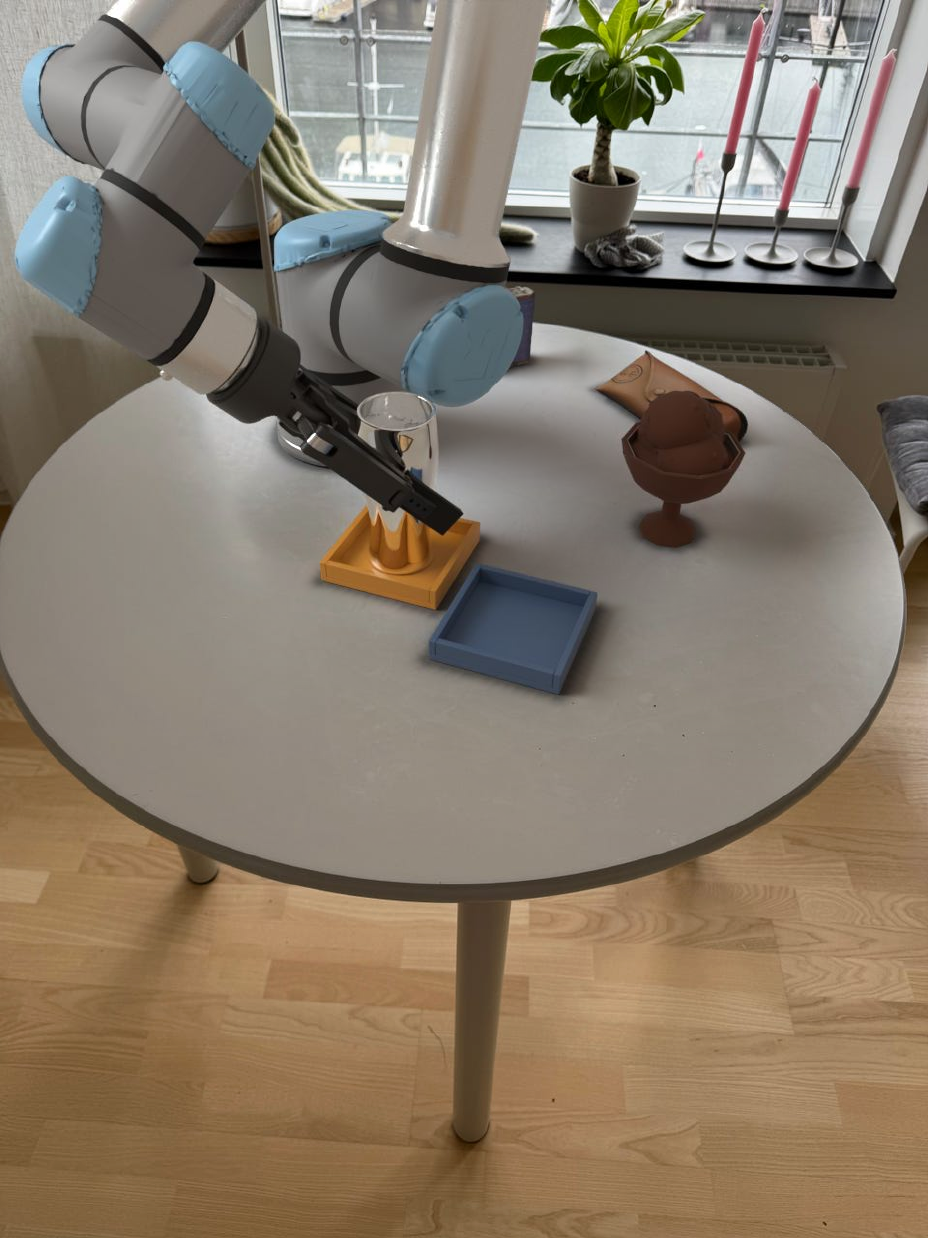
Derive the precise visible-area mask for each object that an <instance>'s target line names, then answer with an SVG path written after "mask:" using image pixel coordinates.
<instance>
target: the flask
mask: <svg viewBox="0 0 928 1238" xmlns="http://www.w3.org/2000/svg"><path fill="white" fill-rule="evenodd" d="M505 288H506V289H509V291H511V293H512V294H513V295H514V296H515V297H516V299H517V300H518V302H519V304H520V307H521V308H520V310H519V311H521V312H522V314H523V332H522V338H521V342H520V345H519V348H518V350H517V353H516V355H515V357H514V359H513V361H512V363H511V365H510V367H509V368H512V367H514V366H520V365H522V364H523V365H524V364H528V363H529V362H530V361H531V351H532V349H531V348H532V338H533V337H532V335H533V325H534V324H533V322H534V317H535V315H534V312H535V301H536V291H534V290H533V289H531V288H529V287H526V286H524V287H521V286H520V285H519V286H518V285H517V286H515V287H513V288H508V287H507V286H505Z"/></svg>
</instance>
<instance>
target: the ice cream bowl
mask: <svg viewBox="0 0 928 1238" xmlns="http://www.w3.org/2000/svg"><path fill="white" fill-rule="evenodd" d="M621 447H622V454H623V457H624V460H625V463H626V465H627V468H628V470H629V472H630V474H631V476H632V479H633V481H634V483H635V484H637V486H638V487H640V489H641V490H643V491H644V492H647V493H648V494H650V495H652V496H653V497H655V498H657V499H659V500H661V501H663V502H662V507H661V509H660V510H656V511H653V512H649V513H646V515H645V516H644V517H643V519H641V522H640V523H639V525H638V528H639V531H640V533H641V536H642V538H644V539H646V540H648V541H649V542H651V543H653V544H655V545H656V546H663V547H669V548H670V547H671V548H677V547H681V546H686V545H689V544H691V543H692V541H693V540H694V538H695V537H696V535H697V530H696V527H695V526H694V525H695V524H694V523H693V521H692V519H691V518H689V517H687V516H686V515H683V513H682V514H681V508H682V505H686V504H688V505H689V504H692V503H696V502H699V501H702V500H706V499H710V498H711V497H713V496H716V495H717V494H719V493H721V492H722V491H723V490H724V489H725V487H726V486H728V484H729V483H730V481H731V479H732V478H733V476H734V475H735V473H736V472H737V471H738V469H739V467H740V465H741V464H742V462H743V460H744V457H745V455H746V451H745V449H744V448H743V447H742V445H741V444H740V442H738V440H737V439H736V437H735V436H734V434H733V433H731V432H729V431H727V430H725V426H724V424H723V418H722V414H721V413H720V412H719V411H718V410H717V409H716V407H715V406H712V405H711V404H710V403H709V402H708V401H707V400H705V399H702V398H700V396H699V395H698V394H697V393H695V392H692V391H671V392H668V393H666V394H663V395H660V396H658V397H656V398H655V399H654V400H653V401H651V402H650V404H649V407H648V409H647V410H646V411H645V412H644V414H643V416H642V418H641V419H640V420H639V421H637V422H635V423H634V424H633V425H632V427H630V429H629V430H627V432H626V433H625V434H624V435H623V437H622V438H621Z"/></svg>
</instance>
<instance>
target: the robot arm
mask: <svg viewBox="0 0 928 1238" xmlns="http://www.w3.org/2000/svg"><path fill="white" fill-rule="evenodd" d="M267 1H268V0H113V2H112V3H111V4H110V5H109V6H108V7H107V9H106V10H105V11H104V12H103V14H101V15H100V17H99V18H98V19H97V20H96V21H95V23H94V24H92V26H91V27H90V28H89V29H88V30H87V32H85V34H84V35H83V36H82V37H81V38H80V39H79V40H78V41H77V42H76V43H72V44H71V43H64V44H55V45H50V46H48V47H46V48H45V47H44V48H43V49H42V50H40V51H38V52H37V53H36V54H35V55H33V57H31V59H30V60H29V61H28V63H27V65H26V67H25V70H24V73H23V76H22V79H21V87H20V89H21V92H20V93H21V94H20V95H21V102H22V107H23V110H24V113H25V115H26V117H27V120H28V122H29V123H30V125H31V127H32V129H34V131H35V132H36V133H37V136H38V137H40V138H41V139H42V140H43V141H44V142H46V143H47V144H49V145H50V146H52V147H53V148H54V149H55V150H57V151H59V152H61V154H63V155H64V156H67V157H69V158H70V159H71V160H73V161H74V162H76V163H79V164H82V165H88V166H91V167H94V168H96V169H99V170H100V171H102V174H101V176H100V177H98V179H97V180H96V181H95V183H94V184H91V183H90V182H84V181H83V180H81V179H80V178H79V177H77V176H73V175H66V176H63V177H62V176H61V177H60V178H59V179H57V180H56V181H55V182H54V183H53V184H52V185H51V186H50V187H49V188H48V189H47V190H46V191H45V193H44V195H43V197H42V198H41V200H40V202H38V203H37V204H36V205H35V206H34V209H33V210H32V211H31V213H30V215H29V216H28V219H27V220H26V222H25V223H24V226H23V227H22V230H21V232H20V233H19V237H18V238H17V241H16V245H15V248H14V265H15V267H16V270H17V271H18V273H19V275H20V277H21V278H22V279H23V280H24V281H25V282H26V283H28V284H29V285H31V286H33V288H35V289H36V290H38V291H40V292H41V293H42V294H44V295H45V296H47V297H48V298H49V299H51V300H52V301H53V302H55V303H56V304H57V305H59V306H61V307H62V308H63V309H65V310H66V312H69V313H70V314H72V316H75V318H78V319H80V320H81V321H83V322H84V323H86V324H87V325H89V326H91V327H92V328H93V329H95V330H97V331H99V332H100V333H102V334H104V336H106V337H108V338H110V339H111V340H113V341H114V342H116V343H118V344H119V345H121V346H123V347H124V348H126V349H127V350H129V351H130V352H132V353H134V354H135V355H137V356H138V357H140V358H141V359H143V360H144V361H146V362H148V363H150V364H151V365H152V366H155V367H156V368H158V369H159V370H160V371H159V376H160V377H161V378H162V380H163V381H166V382H170V381H171V380H173V378H174V379H175V380H177V381H178V382H180V383H181V384H182V385H184V386H185V387H187V388H189V389H190V390H191V391H193V392H195V393H196V394H198V395H205V396H206V399H207V401H208V402H209V403H210V404H212V405H214V406H215V407H217V408H218V409H220V410H221V411H223V412H225V413H226V414H228V415H229V416H231V417H233V419H235V420H236V421H238V422H240V423H242V424H244V425H245V424H247V425H250V424H256V423H258V422H260V421H261V422H262V420H264V419H266V418H269V417H270V418H271V417H276V421H275V423H276V424H275V425H276V432H277V439H278V442H279V444H280V446H281V447H282V449H283V450H284V451H285V452H286V453H287V454H288V455H290V456H292V457H293V458H295V459H297V460H300V461H301V462H304V463H307V464H312V465H314V466H319V467H325V468H328V469H330V470H331V471H332V472H334V473H335V474H337V475H338V476H339V477H341V478H342V479H344V480H345V481H346V482H348V483H349V484H351V485H352V486H354V487H355V488H356V489H358V490H359V491H361V492H362V493H363V492H364V493H365V494H366V495H368V496H369V497H371V498H372V499H374V500H375V501H376V502H378V503H379V504H381V505H382V509H383V510H384V511H391V512H392V513H394V512H395V511H396V510H397V509H398V508H399V507H400V508H401V509H403V510H404V511H406V512H407V513H409V514H410V515H412V516H413V517H415V518H416V519H418V520H419V521H421V522H422V523H424V524H425V525H427V526H428V527H430V528H431V529H433V530H434V531H436V532H437V533H439V534H440V535H442V536H443V535H444V534H445V533H446V532H447V531H448V530H449V529H450V528H451V527H452V526H453V525H454V524H455V522H456V521H457V520H458V519H459V518H462V517H463V515H464V512H463V511H462V509H461V508H460V507H458V506H457V505H455V504H454V503H453V502H451V501H450V500H448V499H447V498H446V497H444V496H442V495H441V494H440V493H438V492H437V491H436V490H433V489H431V488H430V487H428V486H427V485H425V484H424V483H423V482H421V481H420V480H418V479H417V478H415V477H414V476H412V475H411V474H410V473H409V474H408V475H405V474H404V473H402V472H401V471H400V470H399V469H398V468H396V467H395V466H394V465H393V464H392V463H390V462H389V461H388V460H387V459H386V458H384V457H383V456H382V455H381V454H380V453H378V452H377V451H376V450H375V449H374V448H373V447H371V446H370V445H369V444H368V443H367V442H365V441H364V440H363V439H362V438H361V437H359V436H358V435H357V408H358V406H359V404H360V403H361V402H362V401H363V400H365V399H366V398H368V397H370V396H373V395H376V394H379V393H384V392H393V391H402V392H410V393H415V394H419V395H421V396H424V397H426V398H427V399H429V400H430V401H431V402H432V403H433V404H434V405H437V406H439V407H440V406H441V407H444V408H459V407H465V406H466V405H470V404H471V403H472V404H473V402H476V401H477V400H479V399H481V398H482V397H484V396H485V395H486V394H488V393H489V392H490V390H491V389H492V388H493V387H494V386H495V385H496V384H498V383H499V382H500V381H501V379H502V378H503V377H504V376H505V375H506V373H507V372H508V370H509V369H510V368H511V367H510V365H511V363H512V361H513V359H514V357H515V355H516V353H517V350H518V348H519V345H520V342H521V338H522V332H523V314H522V312H521V311H519V310H520V308H521V307H520V304H519V302H518V300H517V299H516V297H515V296H514V295H513V294H512V293H511V291H509V289H510V288H508V289H506V288H505V287H507V286H506V285H507V281H508V276H509V270H510V267H511V257H510V255H509V254H508V251H507V250H506V248H505V246H504V245H503V244H502V242H501V238H500V231H501V226H502V222H503V218H504V212H505V208H506V203H507V198H508V194H509V189H510V184H511V179H512V174H513V169H514V165H515V160H516V154H517V152H518V151H517V150H518V146H519V141H520V135H521V131H522V126H523V122H524V118H525V117H524V116H525V112H526V106H527V103H528V97H529V93H530V88H531V83H532V79H533V74H534V69H535V64H536V60H537V55H538V50H539V45H540V40H541V36H542V31H543V26H544V21H545V16H546V11H547V7H548V2H549V0H437V2H436V8H435V14H434V19H433V27H432V32H431V33H432V34H431V40H430V45H429V51H428V58H427V64H426V70H425V77H424V82H423V88H422V94H421V100H420V101H421V102H420V107H419V114H418V120H417V125H416V132H415V137H414V144H413V151H412V157H411V162H410V169H409V175H408V182H407V189H406V194H405V201H404V207H403V212H402V215H401V216H400V218H399V219H397V220H396V221H394V223H393V221H392V219H391V218H390V217H389V215H387V214H385V213H384V212H383V213H382V212H379V211H376V210H375V211H374V210H368V209H367V210H366V209H365V210H364V209H345V210H333V211H325V212H320V213H314V214H310V215H306V216H303V217H299V218H296V219H294V220H291V221H289V222H288V223H286V224H285V225H282V227H281V228H280V229H279V230H278V232H277V233H276V235H275V236H274V240H273V241H274V242H273V251H274V252H273V256H274V257H273V258H274V259H273V260H274V264H273V272H275V275H276V284H277V294H278V301H279V311H280V319H281V327H282V329H281V328H279V327H278V326H277V325H276V324H274V323H273V322H271V321H270V320H269V319H267V317H264V316H258V315H257V312H256V309H255V308H254V307H253V306H251V305H250V304H248V303H247V302H246V301H245V300H243V299H242V298H241V297H239V296H238V295H236V294H235V293H234V292H232V291H231V290H229V289H228V288H227V287H225V285H223V284H221V283H220V282H219V281H217V280H216V279H215V278H213V277H211V276H209V275H208V274H207V273H206V272H204V271H203V270H201V269H200V268H199V267H198V266H197V265H196V264H195V263H194V262H195V261H194V260H195V259H196V257H197V256H198V254H199V253H200V251H201V250H202V248H203V246H204V244H205V243H206V241H207V238H208V237H209V235H210V234H211V232H212V231H213V229H214V227H215V226H216V225H217V223H218V221H219V220H220V218H221V217H222V215H223V214H224V213H225V211H226V209H227V208H228V206H229V204H230V203H231V201H232V200H233V198H234V197H235V195H236V194H237V193H238V191H239V189H240V188H241V186H242V185H243V183H244V181H246V179H247V177H248V175H249V174H250V173H251V171H252V170H254V169H255V167H256V166H257V158H258V157H259V155H260V153H261V151H262V150H263V147H264V146H265V143H266V142H267V140H268V138H269V136H270V134H271V132H272V131H273V129H274V127H275V124H276V113H275V108H274V106H273V103H272V101H271V100H270V98H269V96H268V95H267V93H266V92H265V91H264V89H263V88H262V86H260V84H258V82H257V81H256V80H255V79H254V78H253V77H252V76H251V75H250V74H249V73H248V72H247V71H246V70H245V69H243V67H241V66H240V65H239V64H238V63H236V62H235V61H234V60H233V59H231V58H229V56H227V55H226V54H224V52H225V51H226V50H227V48H229V46H230V45H231V44H232V43H233V41H234V40H235V39H236V38H237V37H238V35H239V34H240V33H241V32H242V31H243V30H244V28H246V26H247V25H248V24H249V23H250V21H251V20H252V19H253V18H254V17H255V16H256V14H257V13H258V12H259V10H261V8H262V7H263V6H264V5H265V4H266V2H267ZM364 493H363V494H364Z"/></svg>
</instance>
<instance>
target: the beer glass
mask: <svg viewBox="0 0 928 1238" xmlns="http://www.w3.org/2000/svg"><path fill="white" fill-rule="evenodd" d="M437 422H438V421H437V408H436V404H435V403H432V402H431V401H430V400H429V399H427V398H426V397H424V396H421V395H419V394H415V393H410V392H402V391H393V392H384V393H379V394H376V395H373V396H370V397H368V398H366V399H365V400H363V401H362V402H361V403H360V404H359V406H358V408H357V435H358V436H359V437H361V438H362V439H363V440H364V441H365V442H367V443H368V444H369V445H370V446H371V447H373V448H374V449H375V450H376V451H377V452H378V453H380V454H381V455H382V456H383V457H384V458H386V459H387V460H388V461H389V462H390V463H392V464H393V465H394V466H395V467H396V468H398V469H399V470H400V471H401V472H402V473H404V474H405V475H408V474H409V473H410V474H411V475H412V476H414V477H415V478H417V479H418V480H420V481H421V482H423V483H424V484H425V485H427V486H428V487H430V488H431V489H433V490H434V491H436V486H437V485H436V484H437V478H438V473H439V472H438V470H439V456H440V455H439V433H438V423H437ZM362 494H363V496H364V500H365V504H366V505H367V508H368V512H369V516H370V523H371V534H370V541H369V547H368V558H369V561H370V562H371V564H372V565H373V566H374V567H375V568H377V569H379V570H381V571H383V572H386V573H389V574H397V575H404V574H411V573H415V572H418V571H420V570H422V569H424V568H425V567H427V566H428V565H429V564H430V563H431V561H432V559H433V556H434V549H433V544H432V540H431V535H430V530H429V527H428V526H427V525H425V524H424V523H422V522H421V521H419V520H418V519H416V518H415V517H413V516H412V515H410V514H409V513H407V512H406V511H404V510H403V509H401V508H400V507H399V508H398V509H397V510H396V511H395V512H394V513H392V512H391V511H384V510H383V509H382V505H381V504H379V503H378V502H376V501H375V500H374V499H372V498H371V497H369V496H368V495H366V494H365V493H364V492H362Z"/></svg>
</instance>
